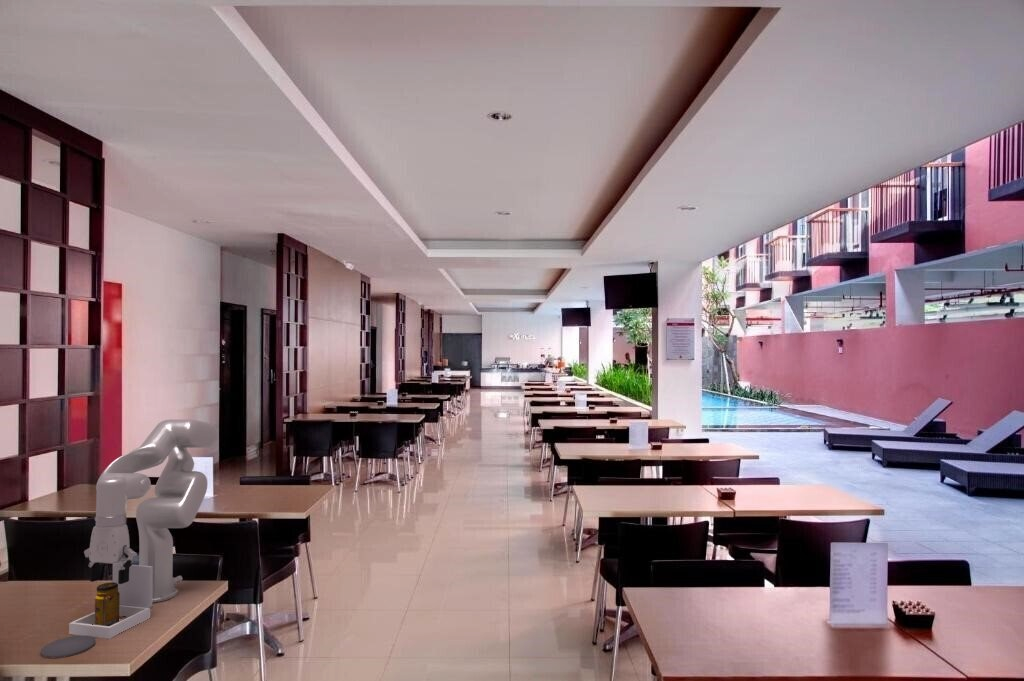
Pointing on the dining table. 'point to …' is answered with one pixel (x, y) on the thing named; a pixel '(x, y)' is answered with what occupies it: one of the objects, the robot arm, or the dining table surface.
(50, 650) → the mat
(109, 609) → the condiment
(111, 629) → the case
